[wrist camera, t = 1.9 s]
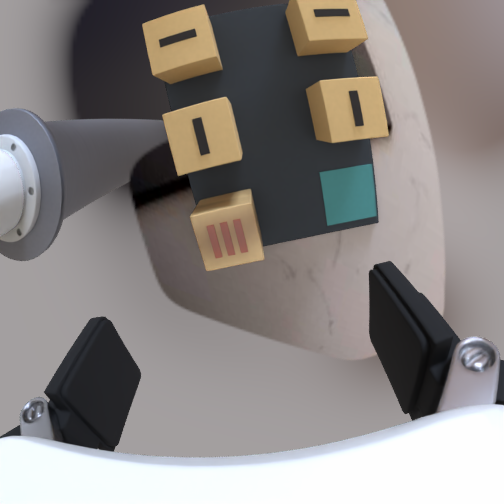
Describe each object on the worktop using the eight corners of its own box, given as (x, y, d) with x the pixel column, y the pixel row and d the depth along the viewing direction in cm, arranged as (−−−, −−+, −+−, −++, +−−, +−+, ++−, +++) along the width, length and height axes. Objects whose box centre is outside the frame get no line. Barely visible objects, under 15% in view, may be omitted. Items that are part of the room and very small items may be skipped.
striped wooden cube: (261, 236, 24) (264, 260, 20) (212, 247, 25) (206, 272, 21) (250, 188, 23) (251, 202, 19) (199, 199, 23) (188, 217, 19)
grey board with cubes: (376, 221, 24) (402, 242, 20) (211, 255, 26) (204, 284, 21) (335, 2, 16) (353, -21, 12) (155, 34, 17) (134, 15, 13)
